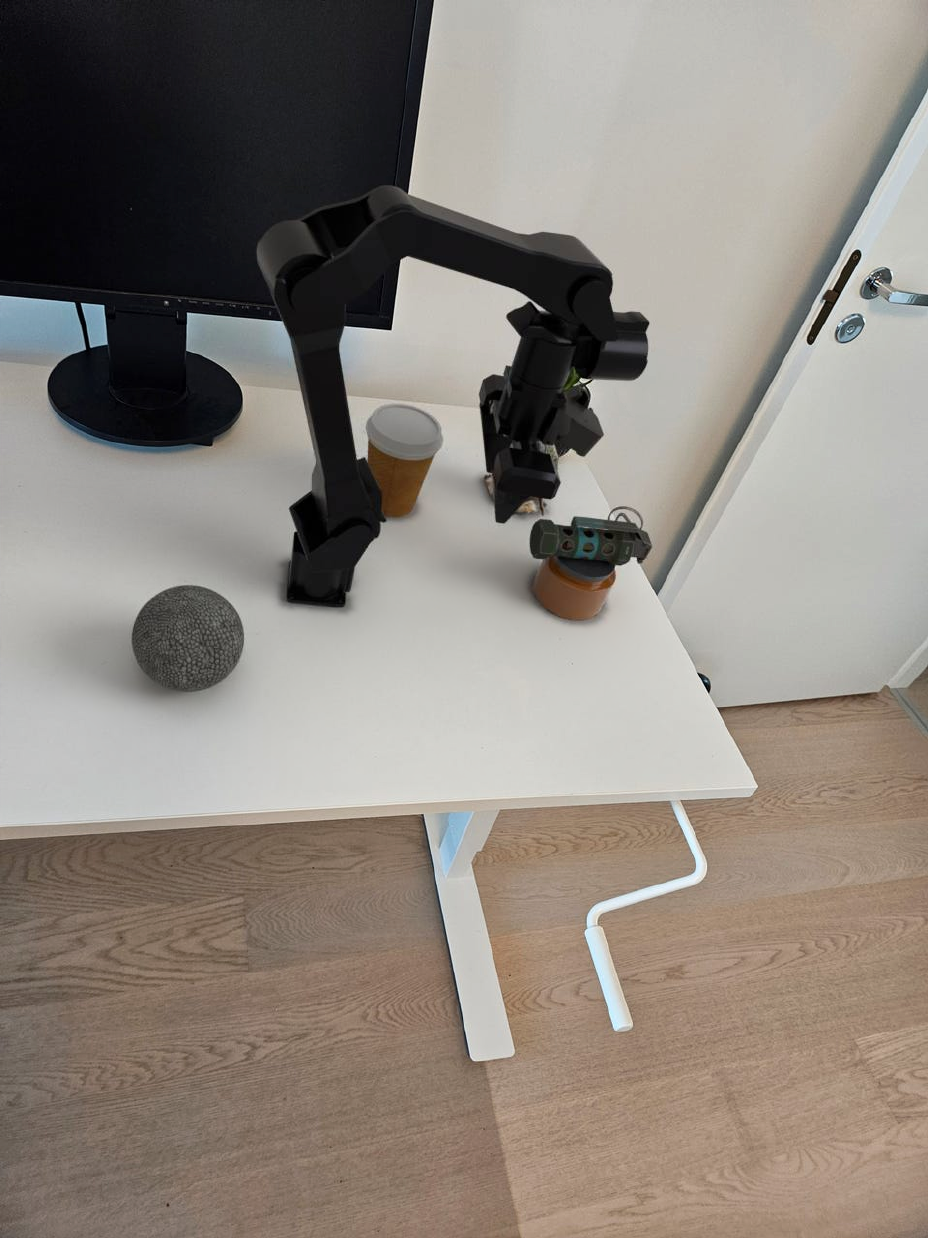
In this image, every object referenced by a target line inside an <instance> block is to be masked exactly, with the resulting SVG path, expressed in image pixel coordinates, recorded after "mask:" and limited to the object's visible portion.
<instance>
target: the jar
mask: <svg viewBox="0 0 928 1238" xmlns="http://www.w3.org/2000/svg"><path fill="white" fill-rule="evenodd" d="M616 578H617V573H616V565H610V564H609V562H608V561H604V560H589V559H583V558H568V557H561V556H550V557H548V558H546V559H541V563H540V566H539V568H538V570H537V572H536V575H535V577H534V579H533V583H532V590H533V594H534V596H535V597H536V600H537V601H538V602H539V603H540V605H541V606H542V607H544V608H545V609H546V610H547V611H548V612H550V613H551V614H554V615H555V616H558V617H560V618H562V619H566V620H572V621H586V620H589V619H592V618H595V616H597V615H598V614H599V613H600V611H601V609H602V607H603V606H604V603H605V601H606V599H607V598H608V596H609V594H610V592H611V590H612V588H613V586H614V584H615V581H616Z"/></svg>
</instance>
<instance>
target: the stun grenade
mask: <svg viewBox="0 0 928 1238" xmlns="http://www.w3.org/2000/svg"><path fill="white" fill-rule="evenodd" d="M618 510H627V511H629V512H632V513H634V514H636V516H637V517H638V519H639V521H640V527H639V526H638V524H637V523H636V522H632V521H631V519H630V518H629V517H628V515H627V514H626V513H625V512H619V513H618V514H617V515H616V518H615V519H614V520H613V519H612V520H611V515H612V514H613V513H614V512H616V511H618ZM620 517H623V519H624V520H625V521H622V520H621V521H620V520H619V518H620ZM643 526H644V519H643V516H642V515H641V514H640V512H639V511H638V510H636V509H635V508H633V507H631V506H626V505H620V506H617V507H614V508H613V509H612V510H611V511H610V512H609V514H608V516H607V519H604V518H594V517H586V516H577V515H574V516H573V518H572V520H571V522H570V525H564V524H556V523H555V522H553V520H552V519H545V518H539V519H538V520H536V521H535V522H534V523H533V525H532V527H531V530H530V534H529V551H530V554H531V555H532V559H535V560H543V559H546V558H548V557H550V556H561V557H568V558H583V559H589V560H604V561H608V562H609V564H610V565H615V566H619V567H621V566H623V565H626V564H628V563H630V562H631V559H632V558H636V563H637V564H638V565H640V564H643V563H644V561H645V560H646V559H647V560H649V558H648V555H649V554H650V552H651V550H652V549H653V544H652V542H651V539H650V535H649V532H647V531H645V530H644V529H642V528H643Z"/></svg>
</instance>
